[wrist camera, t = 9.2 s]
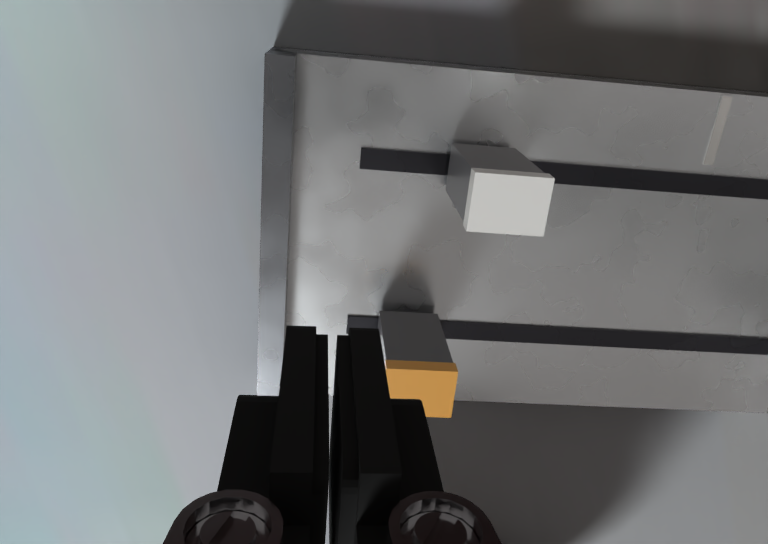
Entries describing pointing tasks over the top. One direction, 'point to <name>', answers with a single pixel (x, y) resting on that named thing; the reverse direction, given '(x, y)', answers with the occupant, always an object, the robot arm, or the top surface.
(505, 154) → the fader cap
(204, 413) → the top surface
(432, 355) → the fader cap
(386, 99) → the console
